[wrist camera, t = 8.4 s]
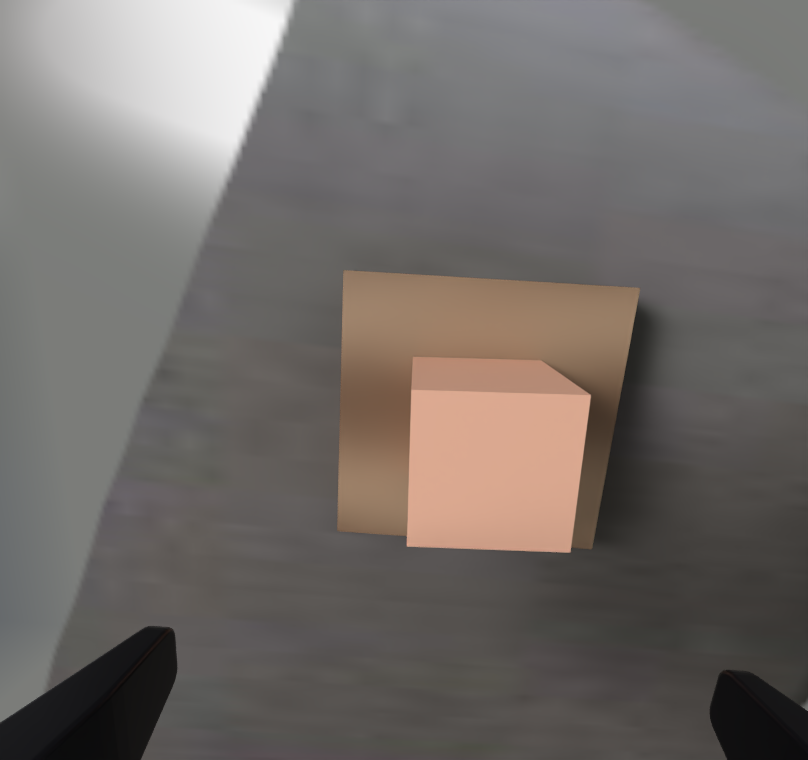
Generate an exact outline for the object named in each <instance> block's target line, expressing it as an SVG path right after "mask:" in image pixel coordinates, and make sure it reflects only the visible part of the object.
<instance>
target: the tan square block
mask: <svg viewBox="0 0 808 760" xmlns="http://www.w3.org/2000/svg"><path fill="white" fill-rule="evenodd" d="M639 292H640V288H632V287H616V286H600V285H583V284H566V283H549V282H533V281H516V280H499V279H482V278H466V277H449V276H432V275H416V274H399V273H382V272H365V271H347V270H344V271H343V313H342V355H341V397H340V439H339V481H338V523H337V531H343V532H357V533H371V534H385V535H399V536H407V523H408V488H409V453H410V417H411V385H412V365H413V357H442V358H477V359H513V360H541V361H543V362H544V363H546V364H547V365H548V366H550V367H551V368H553V369H554V370H556V371H557V372H559V373H560V374H561V375H563V376H564V377H566V378H567V379H569V380H570V381H571V382H573V383H574V384H576V385H577V386H579V387H580V388H581V389H583V390H584V391H586V392H587V393H589V394H590V395H591V399H590V407H589V415H588V422H587V430H586V437H585V445H584V453H583V460H582V468H581V476H580V483H579V491H578V498H577V506H576V514H575V521H574V529H573V536H572V544H571V548H582V549H592V547H593V541H594V536H595V530H596V525H597V519H598V514H599V509H600V503H601V498H602V492H603V487H604V482H605V476H606V471H607V465H608V460H609V454H610V449H611V444H612V438H613V433H614V427H615V422H616V417H617V411H618V406H619V400H620V395H621V389H622V384H623V379H624V373H625V368H626V362H627V357H628V351H629V346H630V341H631V335H632V330H633V324H634V319H635V314H636V308H637V303H638V297H639Z"/></svg>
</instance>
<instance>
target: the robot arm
mask: <svg viewBox="0 0 808 760" xmlns="http://www.w3.org/2000/svg"><path fill="white" fill-rule="evenodd" d="M176 674H177V655H176V641H175V633H174V630H173V629H172V628H170V627H160V626H148V627H145V628H143V629H142V630H140V631H139V632H137V633H135V634H134V635H132V636H131V637H129V638H128V639H126V640H125V641H123V642H122V643H120V644H119V645H117V646H116V647H114V648H113V649H111V650H110V651H108V652H107V653H105V654H104V655H102V656H101V657H99V658H98V659H96V660H94V661H93V662H91V663H90V664H88V665H87V666H85V667H84V668H82V669H81V670H79V671H78V672H76V673H75V674H73V675H72V676H70V677H69V678H67V679H66V680H64V681H63V682H61V683H60V684H58V685H57V686H55V687H54V688H52V689H50V690H49V691H47V692H46V693H44V694H43V695H41V696H40V697H38V698H37V699H35V700H34V701H32V702H31V703H29V704H28V705H26V706H25V707H23V708H22V709H20V710H19V711H17V712H16V713H14V714H13V715H11V716H10V717H8V718H7V719H5V720H3V721H2V722H0V760H141V758H142V756H143V753H144V751H145V749H146V746H147V744H148V742H149V740H150V737H151V735H152V733H153V730H154V728H155V726H156V723H157V721H158V719H159V717H160V714H161V712H162V710H163V707H164V705H165V703H166V701H167V698H168V696H169V694H170V691H171V689H172V687H173V684H174V682H175V678H176ZM710 719H711V723H712V726H713V729H714V731H715V733H716V736H717V738H718V740H719V742H720V744H721V747H722V749H723V751H724V753H725V756H726V758H727V760H808V711H807V710H805V709H804V708H802V707H801V706H799V705H798V704H797V703H795V702H794V701H792V700H791V699H789V698H788V697H786V696H785V695H784V694H782V693H781V692H779V691H778V690H776V689H775V688H773V687H772V686H771V685H769V684H768V683H766V682H765V681H763V680H762V679H760V678H759V677H758V676H756V675H754V674H753V673H750V672H747V671H736V670H723V671H722V672H721V673H720V674H719V677H718V680H717V684H716V687H715V691H714V694H713V698H712V701H711V705H710Z"/></svg>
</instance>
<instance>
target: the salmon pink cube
mask: <svg viewBox="0 0 808 760" xmlns="http://www.w3.org/2000/svg"><path fill="white" fill-rule="evenodd" d="M590 399H591V395H590V394H589V393H587V392H586V391H584V390H583V389H581V388H580V387H579V386H577V385H576V384H574V383H573V382H571V381H570V380H569V379H567V378H566V377H564V376H563V375H561V374H560V373H559V372H557V371H556V370H554V369H553V368H551V367H550V366H548V365H547V364H546V363H544V362H543V361H541V360H513V359H477V358H442V357H413V365H412V385H411V417H410V453H409V488H408V523H407V546H409V547H435V548H462V549H488V550H514V551H540V552H566V553H570V552H571V544H572V536H573V529H574V521H575V514H576V506H577V498H578V491H579V483H580V476H581V468H582V460H583V453H584V445H585V437H586V430H587V422H588V415H589V407H590Z"/></svg>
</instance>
